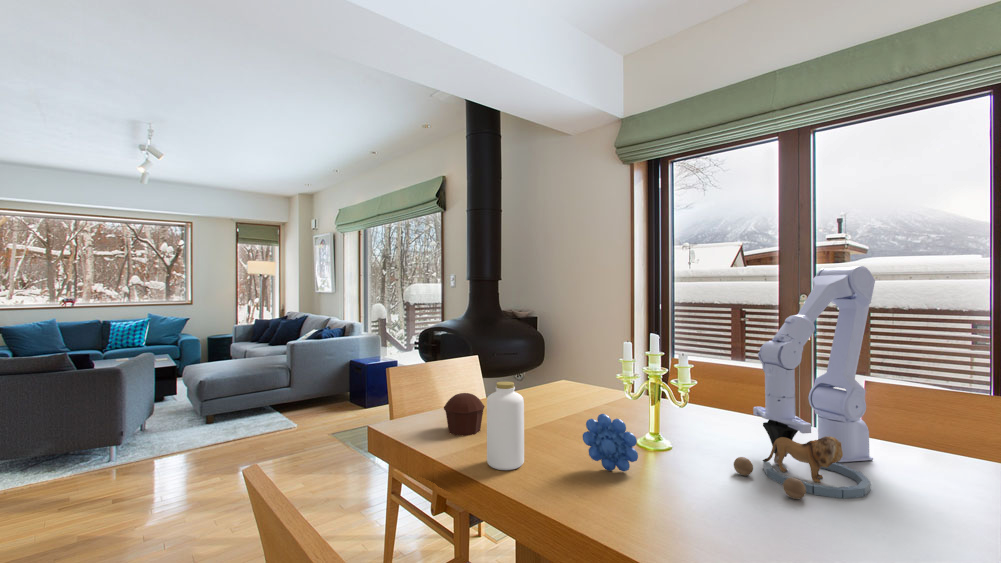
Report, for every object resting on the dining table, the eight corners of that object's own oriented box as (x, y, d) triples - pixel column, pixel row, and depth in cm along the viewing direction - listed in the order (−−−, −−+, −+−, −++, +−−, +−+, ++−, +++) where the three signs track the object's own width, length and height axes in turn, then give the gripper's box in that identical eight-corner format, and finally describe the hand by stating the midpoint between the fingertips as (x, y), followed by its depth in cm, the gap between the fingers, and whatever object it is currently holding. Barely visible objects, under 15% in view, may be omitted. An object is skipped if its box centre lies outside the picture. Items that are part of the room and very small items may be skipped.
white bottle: (531, 464, 100) (531, 382, 100) (506, 475, 94) (506, 388, 94) (504, 454, 106) (504, 378, 106) (478, 464, 100) (478, 383, 100)
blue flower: (579, 474, 94) (578, 417, 94) (584, 463, 100) (584, 409, 101) (637, 482, 90) (636, 422, 90) (638, 470, 97) (638, 413, 97)
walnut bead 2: (795, 492, 85) (794, 473, 85) (811, 501, 82) (810, 481, 82) (778, 494, 85) (777, 475, 85) (793, 503, 81) (793, 483, 81)
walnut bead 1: (745, 470, 96) (744, 453, 96) (757, 477, 92) (757, 460, 92) (729, 472, 95) (729, 454, 95) (741, 479, 92) (741, 461, 92)
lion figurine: (846, 481, 90) (845, 436, 91) (839, 489, 87) (838, 442, 87) (766, 460, 102) (766, 420, 102) (757, 466, 98) (756, 425, 98)
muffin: (449, 423, 131) (449, 389, 131) (487, 425, 129) (487, 390, 130) (438, 436, 119) (438, 398, 119) (479, 438, 118) (479, 400, 118)
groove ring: (824, 464, 100) (824, 457, 100) (893, 493, 85) (893, 485, 85) (754, 469, 97) (753, 462, 97) (813, 501, 82) (812, 492, 82)
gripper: (741, 388, 107) (742, 446, 107) (789, 403, 93) (790, 469, 93) (767, 387, 109) (768, 444, 108) (819, 402, 94) (820, 467, 94)
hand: (780, 456), depth 101 cm, fingers closed
